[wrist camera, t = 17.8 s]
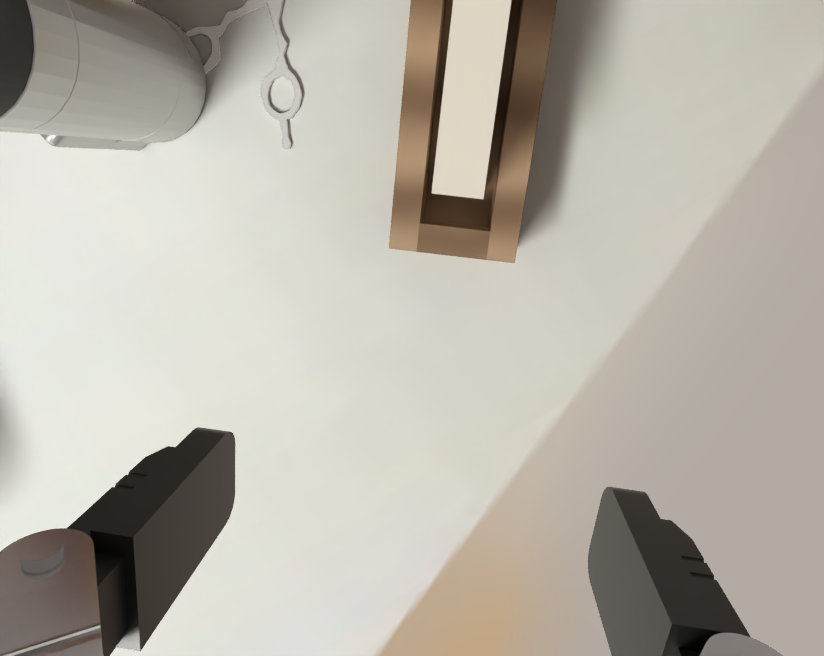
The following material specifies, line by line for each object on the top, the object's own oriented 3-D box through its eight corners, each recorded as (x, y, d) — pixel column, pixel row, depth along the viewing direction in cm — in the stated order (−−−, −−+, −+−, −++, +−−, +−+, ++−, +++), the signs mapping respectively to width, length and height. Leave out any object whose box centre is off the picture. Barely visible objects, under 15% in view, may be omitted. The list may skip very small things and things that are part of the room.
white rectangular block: (479, 191, 40) (483, 199, 31) (439, 186, 41) (431, 193, 31) (504, 11, 37) (517, -43, 27) (460, 7, 37) (458, -48, 27)
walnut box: (509, 252, 43) (514, 263, 38) (397, 239, 43) (388, 248, 39) (555, -39, 37) (567, -68, 32) (424, -50, 37) (418, -79, 33)
